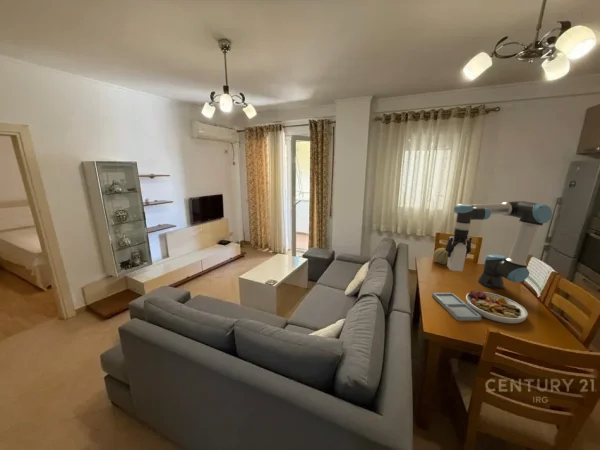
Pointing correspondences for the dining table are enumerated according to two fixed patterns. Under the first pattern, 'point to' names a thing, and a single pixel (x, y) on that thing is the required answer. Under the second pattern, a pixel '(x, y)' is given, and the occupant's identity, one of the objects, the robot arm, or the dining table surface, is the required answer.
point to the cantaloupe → (441, 256)
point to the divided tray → (456, 307)
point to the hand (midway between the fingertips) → (455, 261)
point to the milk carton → (457, 257)
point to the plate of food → (496, 307)
